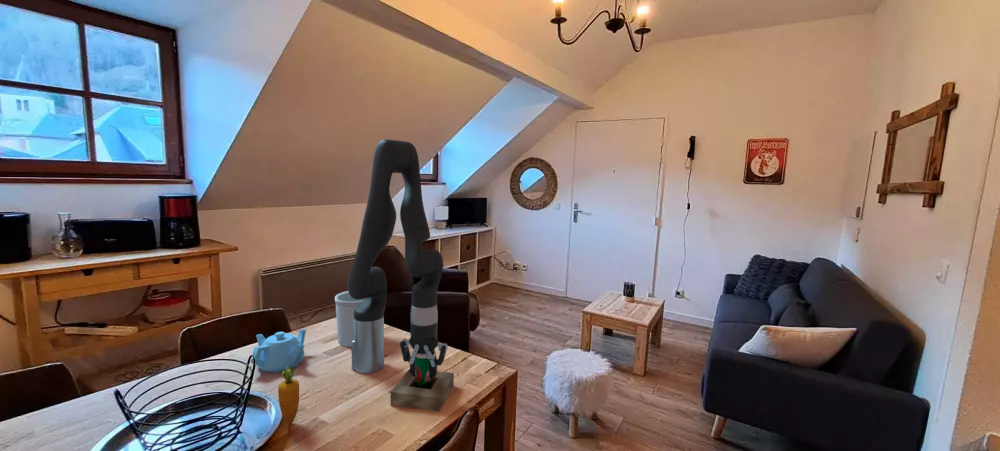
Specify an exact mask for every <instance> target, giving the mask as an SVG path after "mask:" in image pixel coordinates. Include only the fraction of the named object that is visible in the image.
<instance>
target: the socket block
mask: <svg viewBox="0 0 1000 451" xmlns="http://www.w3.org/2000/svg"><path fill="white" fill-rule="evenodd" d="M454 374H455V373H454V372H450V371H449V372H448V371H447V372H446V371H438V370H437V374H436V376H435V377H434V378H433V379H432V388H431V389H424V388H416V387H414V376H412V374H410V368H409V369H408V370H407V371H406V372H405V374H404V375H403V376H402V378H401V379H400V380H399V381H398V382H397V383H396V385H395V386H394V387H393V389H392V390H391V391H390V406H393V407H399V408H405V409H407V408H409V409H412V410H413V409H414V410H423V411H429V412H438V413H440V411H441V410H442V407H443V406H444V404H445V402H446V401H447V398H448V396H449V395H450V393H451V391H452V389H453V387H454V385H455V383H454V381H455V380H454V379H455V376H454Z"/></svg>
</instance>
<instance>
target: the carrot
mask: <svg viewBox="0 0 1000 451" xmlns="http://www.w3.org/2000/svg"><path fill="white" fill-rule="evenodd" d="M298 371H299V369H298V368H296V369H294V370H293V371H292V369H290V368H289V366H288V367H286V371H282V372H281V375H282V376H283V378H284V381H282V382H280V383H279V384H278V389H277V394H278V405H279V408H280V412H281V415H282V418H283V419H284V421H285V422H286V424H288V425H292V424H293V423H294V421H295V419H296V416H297V414H298V409H299V405H300V404H299V402H300V383H299V382H300V381H299V380H297V379H294V375H295V374H296V373H297V372H298ZM291 372H292V373H291Z"/></svg>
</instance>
